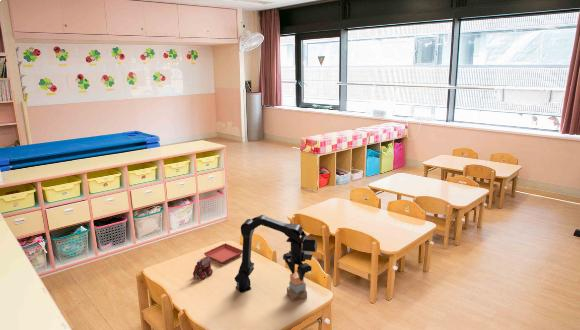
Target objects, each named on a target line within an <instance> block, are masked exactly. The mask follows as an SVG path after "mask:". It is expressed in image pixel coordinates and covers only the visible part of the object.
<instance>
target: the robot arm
mask: <svg viewBox="0 0 580 330" xmlns="http://www.w3.org/2000/svg"><path fill="white" fill-rule="evenodd" d="M259 226H263V227H267V228H269V229H272V230H275V231H278V232H281V233H282V234H284V235H285V236H286V237H287V239H286V243H290V250H289V252H287V253H283V255H282V259H283V261H285V264H286V265H287V267H288V268H289V271H290V272H291V274H293V273H296V272H297V273H298V276H299V279H300V281H302V280H303V278H304V279H305V274H306V273H309V272H312V271H313V270H312V269H313V268H312V265H310V264H309V263H307V262H306V261H312V259H313V253H316V252H317V251H318V241H317V238H315V237H312V238H311V237H308V235H307V234H306V232H305V231H304V230H303V228H302V226H301V225H300V224H296V223H286V222H283V221H280V220H278V219H274V218H272V217H269V216H266V215H265V214H261V215H259V216H256V217H253V218H247V219H246V220H245V221H244V222H243V223H242V224H241V225H240V234H241V236H242V249H241V250H242V254H241V255H242V256H241V262H240V266H239V267H238V268H239V269H238V273H237V274H236V275H235V277H234V281H235V283H236V286H235V288H236V290H237V291H238V292H239V293H244V292H246V291H250V290H252V287H251V278H250V275H252V273H253V271H254V270H255V268H254V266H255V262H252V259H251V258H252V257H251V256H252V240H253V234H254V232H255V229H256V228H258V227H259ZM311 252H312V253H311ZM296 265H297V270H296ZM295 271H296V272H295Z"/></svg>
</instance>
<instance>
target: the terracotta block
mask: <svg viewBox="0 0 580 330" xmlns="http://www.w3.org/2000/svg"><path fill="white" fill-rule="evenodd" d="M289 277H290V278H289V279H290V280H289V281H291V282H292V283H293V284H294V285H295V286H296V285H299V284H302V283H304V282H305V281H304V280H305V277H304V278H303V280H302V281H300V279H299V276H298V273H297V271H296V272H295V273H293V274H292V273H291V274H289Z"/></svg>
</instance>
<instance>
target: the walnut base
mask: <svg viewBox="0 0 580 330" xmlns="http://www.w3.org/2000/svg"><path fill="white" fill-rule="evenodd" d="M286 294H287V295H288V297H289V299H290V300H291V302H295V301H300V300H304V299H307V298H308V291H307V289H306V290H304V291H301V292H299V293H295V292H294V291H292V290H291V289H290V285H289V286H286Z"/></svg>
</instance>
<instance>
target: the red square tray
mask: <svg viewBox="0 0 580 330" xmlns="http://www.w3.org/2000/svg"><path fill="white" fill-rule="evenodd" d="M242 250H243V249H240V248H238V247H236V246H234V245H231V244H228V243H223V244H220V245H219V246H216V247H214V248H212V249H210V250H208V251H205V252H204V253H203V255H204V256H205V257H207V256H210V257H211V260H212V261H215V262H217V263H219V264H221V265H224V264H226V263H228V262H230V261H232V260H234V259H236V258H238V257H240V256H241V255H242Z"/></svg>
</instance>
